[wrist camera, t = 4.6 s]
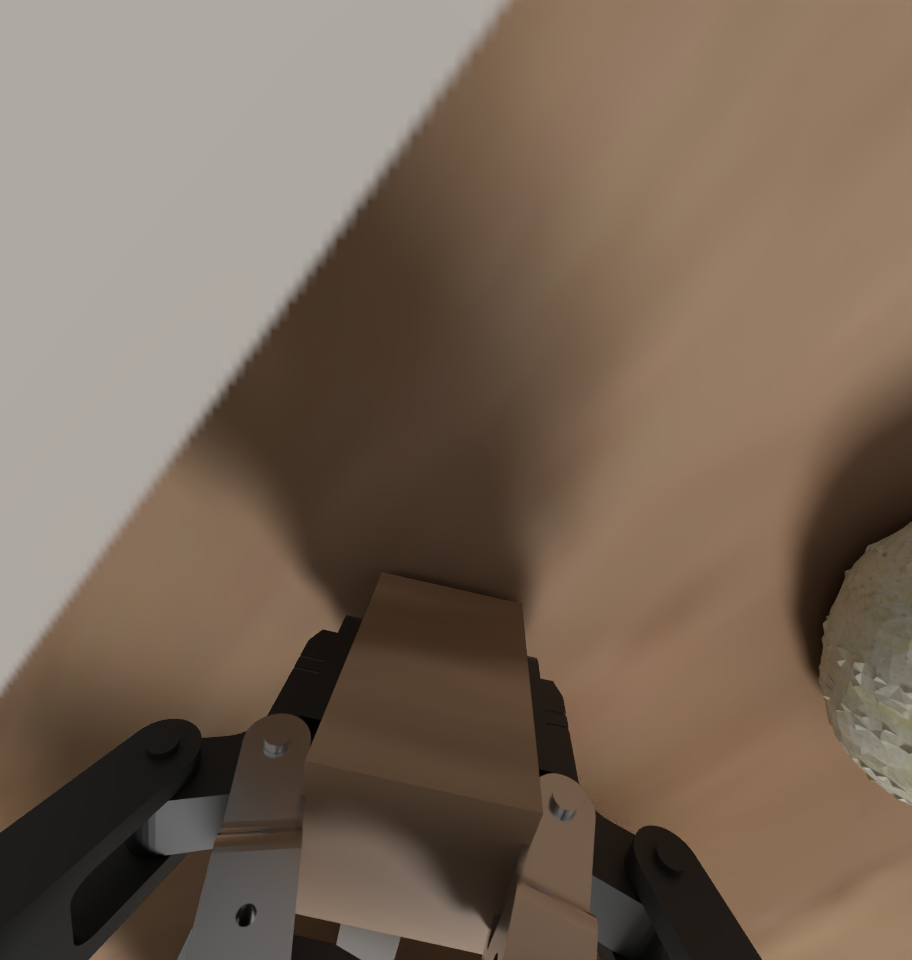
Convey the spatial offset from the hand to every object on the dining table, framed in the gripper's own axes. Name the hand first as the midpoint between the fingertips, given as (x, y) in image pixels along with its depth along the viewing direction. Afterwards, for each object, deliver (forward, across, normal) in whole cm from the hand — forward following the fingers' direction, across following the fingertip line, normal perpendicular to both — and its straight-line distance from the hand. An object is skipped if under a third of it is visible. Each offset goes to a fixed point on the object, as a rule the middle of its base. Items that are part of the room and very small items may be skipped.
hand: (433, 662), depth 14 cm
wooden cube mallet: (+1, 0, +6) cm, 6 cm away
